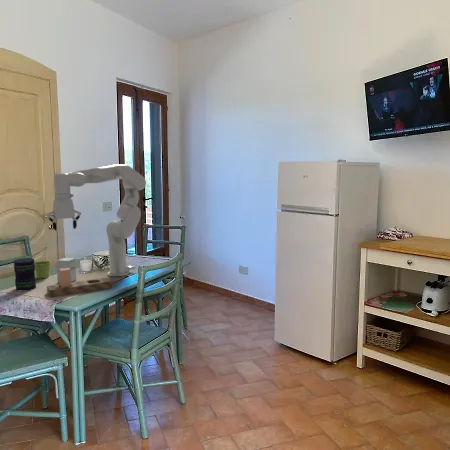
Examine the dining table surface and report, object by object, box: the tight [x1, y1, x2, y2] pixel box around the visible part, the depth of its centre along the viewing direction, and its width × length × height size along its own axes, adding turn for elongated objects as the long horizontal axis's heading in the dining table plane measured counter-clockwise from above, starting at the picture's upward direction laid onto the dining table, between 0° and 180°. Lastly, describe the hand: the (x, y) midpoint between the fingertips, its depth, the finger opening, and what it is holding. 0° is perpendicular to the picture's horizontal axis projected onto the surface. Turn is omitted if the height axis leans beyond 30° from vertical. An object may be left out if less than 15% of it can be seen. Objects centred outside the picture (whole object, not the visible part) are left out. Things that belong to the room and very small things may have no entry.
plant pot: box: [34, 260, 52, 279], centre depth 238 cm, size 9×9×9 cm
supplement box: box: [56, 257, 77, 284], centre depth 229 cm, size 7×7×13 cm
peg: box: [59, 268, 71, 288], centre depth 208 cm, size 4×4×12 cm
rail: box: [46, 277, 113, 298], centre depth 212 cm, size 30×9×4 cm, turn 122°
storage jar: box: [13, 257, 37, 291], centre depth 216 cm, size 10×10×15 cm
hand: (65, 229), depth 218 cm, fingers open, 9 cm apart
